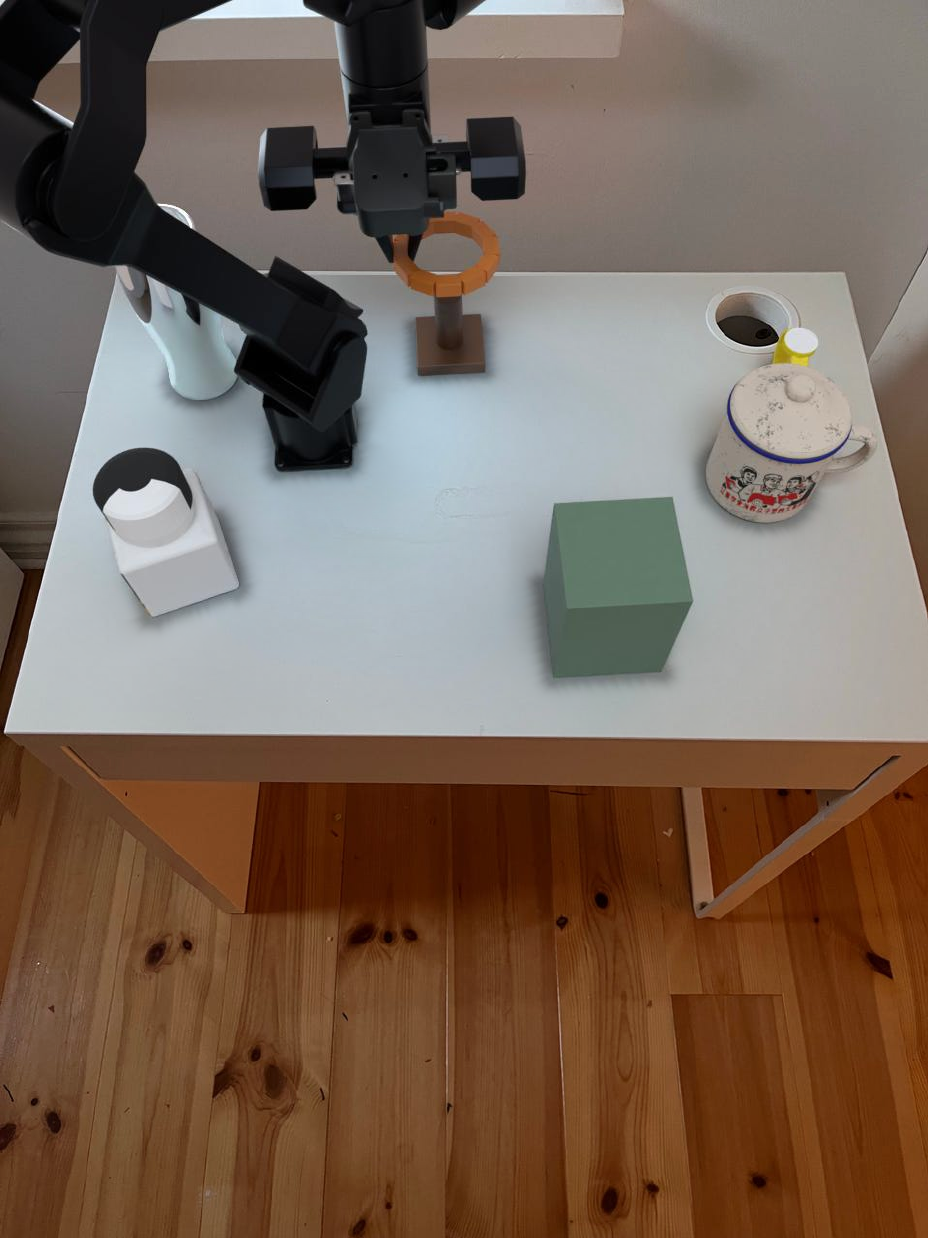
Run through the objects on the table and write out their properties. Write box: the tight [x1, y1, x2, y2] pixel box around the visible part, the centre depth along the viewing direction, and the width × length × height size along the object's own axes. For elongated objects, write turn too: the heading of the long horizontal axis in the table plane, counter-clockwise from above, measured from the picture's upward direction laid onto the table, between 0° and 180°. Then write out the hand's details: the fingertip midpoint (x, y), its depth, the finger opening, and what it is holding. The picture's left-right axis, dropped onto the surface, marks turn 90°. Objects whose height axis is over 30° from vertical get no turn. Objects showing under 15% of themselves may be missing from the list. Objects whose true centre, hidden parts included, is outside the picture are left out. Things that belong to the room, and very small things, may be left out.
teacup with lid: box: [705, 362, 878, 524], centre depth 68 cm, size 12×9×12 cm
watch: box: [771, 327, 819, 367], centre depth 76 cm, size 6×3×6 cm, turn 175°
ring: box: [393, 210, 501, 298], centre depth 71 cm, size 8×8×1 cm
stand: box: [414, 293, 486, 377], centre depth 78 cm, size 6×6×6 cm
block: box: [542, 496, 694, 679], centre depth 63 cm, size 8×8×11 cm
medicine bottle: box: [92, 447, 240, 618], centre depth 65 cm, size 7×7×12 cm
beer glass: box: [114, 203, 239, 401], centre depth 73 cm, size 7×7×15 cm
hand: (401, 259), depth 72 cm, fingers closed on ring, 1 cm apart
